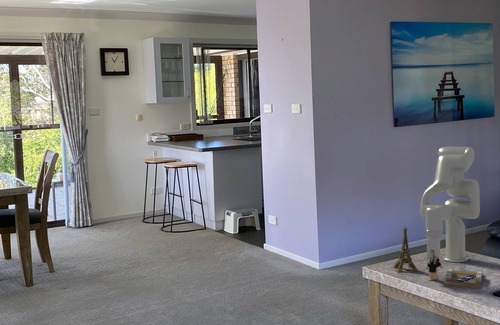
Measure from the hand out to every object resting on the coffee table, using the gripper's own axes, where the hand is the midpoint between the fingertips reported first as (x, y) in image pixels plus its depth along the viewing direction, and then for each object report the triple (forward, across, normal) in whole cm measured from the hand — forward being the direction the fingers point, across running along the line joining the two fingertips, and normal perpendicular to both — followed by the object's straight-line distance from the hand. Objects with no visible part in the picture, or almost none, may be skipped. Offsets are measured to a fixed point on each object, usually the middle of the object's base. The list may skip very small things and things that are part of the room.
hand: (434, 269), depth 297 cm
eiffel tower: (+5, -14, -16) cm, 22 cm away
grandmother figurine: (+5, 0, 0) cm, 5 cm away
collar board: (+5, -3, +13) cm, 14 cm away
